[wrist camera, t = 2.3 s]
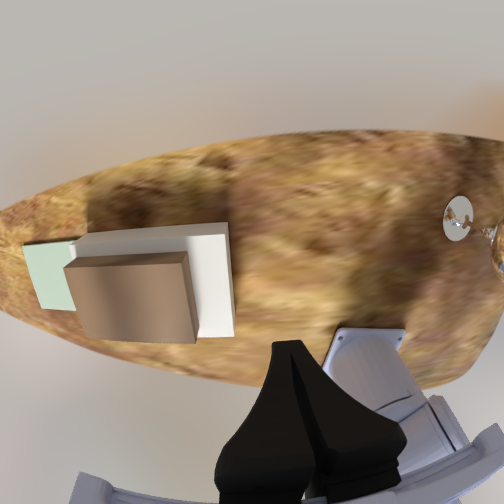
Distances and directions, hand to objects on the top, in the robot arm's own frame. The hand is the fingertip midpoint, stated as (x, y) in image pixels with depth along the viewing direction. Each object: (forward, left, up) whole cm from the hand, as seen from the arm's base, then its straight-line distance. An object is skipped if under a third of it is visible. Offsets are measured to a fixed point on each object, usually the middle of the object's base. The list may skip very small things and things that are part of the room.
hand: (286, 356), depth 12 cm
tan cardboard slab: (-2, +10, -7) cm, 12 cm away
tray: (-2, +9, -10) cm, 13 cm away
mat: (-4, +19, -10) cm, 22 cm away
